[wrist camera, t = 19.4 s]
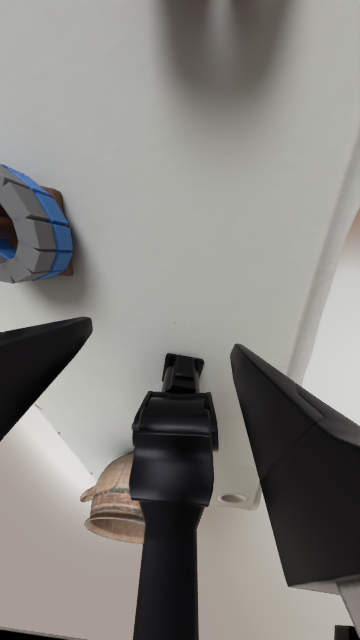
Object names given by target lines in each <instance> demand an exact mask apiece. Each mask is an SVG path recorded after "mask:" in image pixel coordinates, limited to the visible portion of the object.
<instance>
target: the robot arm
mask: <svg viewBox="0 0 360 640" xmlns="http://www.w3.org/2000/svg"><path fill="white" fill-rule="evenodd" d="M92 331H93V327H92V320H91V318H89V317H78V318H73V319H68V320H63V321H57V322H52V323H47V324H42V325H36V326H31V327H26V328H21V329H16V330H10V331H5V332H4V333H3V332H0V441H1V440H2V439H3V438H4V436H5V435H6V434H7V433H8V432H9V431H10V430H11V429H12V427H13V426H14V425H15V424H16V423H17V422H18V421H19V419H20V418H21V417H22V416H23V415H24V414H25V413H26V411H27V410H28V409H29V408H30V407H31V406H32V404H33V403H34V402H35V401H36V400H37V399H38V398H39V397H40V395H41V394H42V393H43V392H44V391H45V390H46V389H47V387H48V386H49V385H50V384H51V383H52V382H53V381H54V379H55V378H56V377H57V376H58V375H59V374H60V373H61V371H62V370H63V369H64V368H65V367H66V366H67V365H68V364H69V362H70V361H71V360H72V359H73V358H74V357H75V356H76V354H77V353H78V352H79V350H80V349H81V348H82V346H83V345H84V344H85V342H86V341H87V339H88V338H89V336H90V335H91V334H92ZM168 356H170V357H168ZM230 360H231V367H232V374H233V380H234V384H235V388H236V392H237V396H238V399H239V403H240V407H241V411H242V415H243V419H244V422H245V426H246V430H247V434H248V438H249V441H250V445H251V449H252V453H253V457H254V461H255V464H256V468H257V472H258V476H259V479H260V484H261V488H262V492H263V495H264V499H265V503H266V507H267V511H268V514H269V518H270V522H271V526H272V530H273V534H274V537H275V541H276V545H277V549H278V552H279V556H280V560H281V564H282V568H283V572H284V575H285V579H286V582H287V585H288V587H292V588H298V589H305V590H311V591H318V592H324V593H330V594H336V595H341V597H342V599H343V602H344V604H345V606H346V609H347V611H348V613H349V615H350V618H351V620H352V622H353V625H354V626H342V625H335V635H334V640H360V426H359V425H357V424H356V423H354V422H353V421H351V420H350V419H348V418H347V417H345V416H344V415H342V414H341V413H339V412H337V411H336V410H334V409H333V408H331V407H330V406H328V405H327V404H325V403H324V402H322V401H321V400H319V399H318V398H316V397H315V396H313V395H312V394H311V393H309V392H308V391H306V390H305V389H303V388H302V387H301V386H299V385H298V384H295V382H294V381H292V380H291V379H290V378H288V377H287V376H285V375H284V374H283V373H281V372H280V371H278V370H277V369H276V368H274V367H273V366H271V365H270V364H269V363H267V362H266V361H264V360H263V359H262V358H260V357H259V356H257V355H256V354H255V353H253V352H252V351H250V350H249V349H248V348H246V347H245V346H243V345H241V344H235V345H234V347H233V349H232V352H231V354H230ZM203 365H204V360H203V359H199V358H193V357H187V356H181V355H176V354H170V353H168V354H166V358H165V364H164V371H163V377H162V381H163V386H162V391H161V392H153V391H148V393H147V395H146V396H145V398H144V400H143V402H142V404H141V406H140V408H139V410H138V412H137V414H136V416H135V418H134V422H133V424H132V430H133V438H132V439H133V446H134V447H135V450H134V457H133V463H132V468H131V473H130V478H129V490H130V497H131V500H132V501H139V504H140V508H141V512H142V515H143V519H144V523H145V531H144V541H143V550H142V560H141V569H140V578H139V588H138V597H137V606H136V616H135V625H134V635H133V640H199V636H198V635H199V633H198V585H197V583H198V581H197V531H196V530H197V527H198V524H199V521H200V519H201V516H202V513H203V510H204V508H205V507H208V506H209V503H210V499H211V496H212V492H213V483H214V467H213V452H218V447H219V442H218V428H217V420H216V414H215V410H214V405H213V401H212V396H211V392H207V393H200V389H199V378H200V375H201V371H202V368H203ZM0 640H86V639H79V638H73V637H66V636H59V635H52V634H46V633H39V632H33V631H26V630H19V629H13V628H6V627H0Z"/></svg>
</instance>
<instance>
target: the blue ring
mask: <svg viewBox="0 0 360 640" xmlns="http://www.w3.org/2000/svg"><path fill="white" fill-rule="evenodd" d="M0 165H2V164H0ZM2 166H4V167H5V168H6V169H7V170H9V171H10V172H11V173H13V174H14V175H15V176H16V177H18V178H19V179H20V180H21V181H23V182H24V183H25V184H26V185H28V186H29V188H28V189H29V190H32V191H33V192H34V194H35V195H36V197H37V199H38V200H39V202H40V203H41V205H42V207H43V208H44V210H45V211H46V213H47V215H48V216H49V218H50V219H49V220H48V221H46V222H47V223H51V224H52V226H53V232H54V237H55V242H56V247H57V249H52V250H53V251H54V252H56V256H55V259H54V261H53V264H52V267H51V269H50V270H49V271H47V272H48V273H46V274H44V275H42V276H40V277H38V278H36V279H34V280H41V279H46V278H51V277H53V276H55V275H57V274H59V273H62V272H64V270H65V269H66V268H67V266H68V264H69V261H70V259H71V257H72V254H73V253H71V252H70V251H69V250H73V246H72V239H71V232H70V228H69V227H65V225H67V224H68V222H67V220H66V218H65V217H64V215H63V213H62V211H61V210H60V208H59V206H58V204H57V203H56V201H55V199H53V198H50V196H51V195H50V194H49V193H48V192H46V191H45V190H44V189H43V188H42V187H40V186H39V185H38V184H37V183H35V182H34V181H33V180H32V179H31V178H29V177H28V176H25V175H24V174H22V173H20V172H18V171H15V170H13V169H11V168H9V167H7V166H5V165H2ZM0 255H2V256H4V257H5V258H7V259H9V260H10V259H12V258H14V257H15V255H16V250H14V249H13V247H12V246H11V245H10V243H9V242H8V241H7V239H3V238H0ZM34 280H33V281H34Z"/></svg>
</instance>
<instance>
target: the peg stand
mask: <svg viewBox="0 0 360 640" xmlns="http://www.w3.org/2000/svg"><path fill="white" fill-rule="evenodd" d="M40 187H42V186H40ZM42 188H43V189H44V190H45V191H46V192H48V193H49V194H50V195H51V196H50V198H53V199H55V201H56V203H57V204H58V206H59V208H60V210H61V211H62V213H63V215H64V212H63V205H62V199H61V193H60V192H59V191H57V190H55V189H52V188H47V187H42ZM65 227H66V225H65ZM0 238H3V239H7V241H8V242H9V243H10V245H11V246H12V247H13V249H14V250H16V251H17V247H18V243H19V241H18V238H17V234H16V231H15V227H14V224H13V220H12V219H11V218H10V216H9V215H8V213H7V212H6V210H5V209H4V208H3V206H2V205H1V203H0ZM59 275H64V276H71V275H73V271H72V264H71V259H70V261H69V264H68V266H67V268H66V269H65V270H64V272H62V273H59Z"/></svg>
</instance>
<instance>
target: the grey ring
mask: <svg viewBox="0 0 360 640" xmlns="http://www.w3.org/2000/svg"><path fill="white" fill-rule="evenodd" d="M28 188H29V186H28V185H26V184H25V183H24V182H23V181H21V180H20V179H19V178H18V177H16V176H15V175H14V174H13V173H11V172H10V171H9V170H7V169H6V168H5V167H4V166H2V165H0V203H1V205H2V206H3V208H4V209H5V210H6V212H7V213H8V215H9V216H10V218H11V219H12V220H13V224H14V227H15V231H16V234H17V238H18V241H19V243H18V247H17V251H16V255H15V257H14V258H12V259H10V260H9V259H7V258H5V257H4V256H2V255H0V281H3V282H9V283H18V282H23V281H29V280H34V279H36V278H38V277H40V276H42V275H44V274H46V273H48V272H47V271H49V270H50V269H51V267H52V264H53V261H54V259H55V256H56V252H54V251H53V250H52V249H57V247H56V242H55V237H54V232H53V226H52V224H51V223H47V222H46V221H48V220H49V219H50V218H49V216H48V215H47V213H46V211H45V210H44V208H43V207H42V205H41V203H40V202H39V200H38V199H37V197H36V195H35V194H34V192H33V191H32V190H29V189H28Z"/></svg>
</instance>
